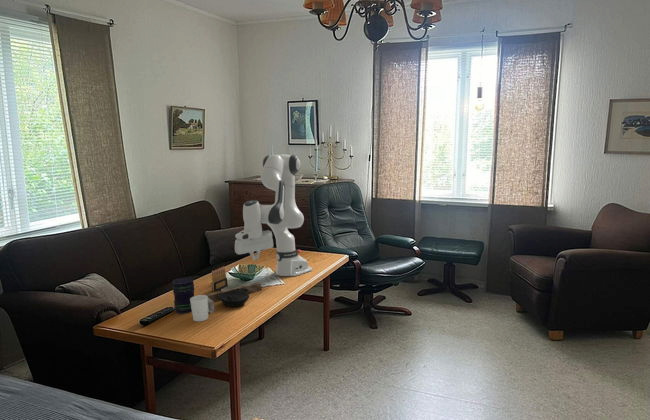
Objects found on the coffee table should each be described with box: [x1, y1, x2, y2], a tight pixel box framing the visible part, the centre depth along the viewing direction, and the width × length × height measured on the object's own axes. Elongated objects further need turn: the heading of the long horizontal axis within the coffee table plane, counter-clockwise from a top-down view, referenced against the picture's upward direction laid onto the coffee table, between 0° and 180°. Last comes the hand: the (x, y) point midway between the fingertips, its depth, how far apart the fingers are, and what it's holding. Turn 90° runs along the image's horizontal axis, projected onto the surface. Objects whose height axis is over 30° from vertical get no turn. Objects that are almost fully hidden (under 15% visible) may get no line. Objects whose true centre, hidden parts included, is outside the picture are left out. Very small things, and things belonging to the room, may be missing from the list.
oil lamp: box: [219, 287, 250, 307], centre depth 222 cm, size 15×20×5 cm
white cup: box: [190, 294, 209, 322], centre depth 202 cm, size 8×8×10 cm
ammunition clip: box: [211, 265, 229, 293], centre depth 243 cm, size 11×2×12 cm, turn 150°
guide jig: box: [205, 281, 263, 314], centre depth 225 cm, size 34×15×5 cm, turn 125°
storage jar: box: [172, 276, 195, 315], centre depth 214 cm, size 10×10×15 cm
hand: (255, 259), depth 225 cm, fingers closed
